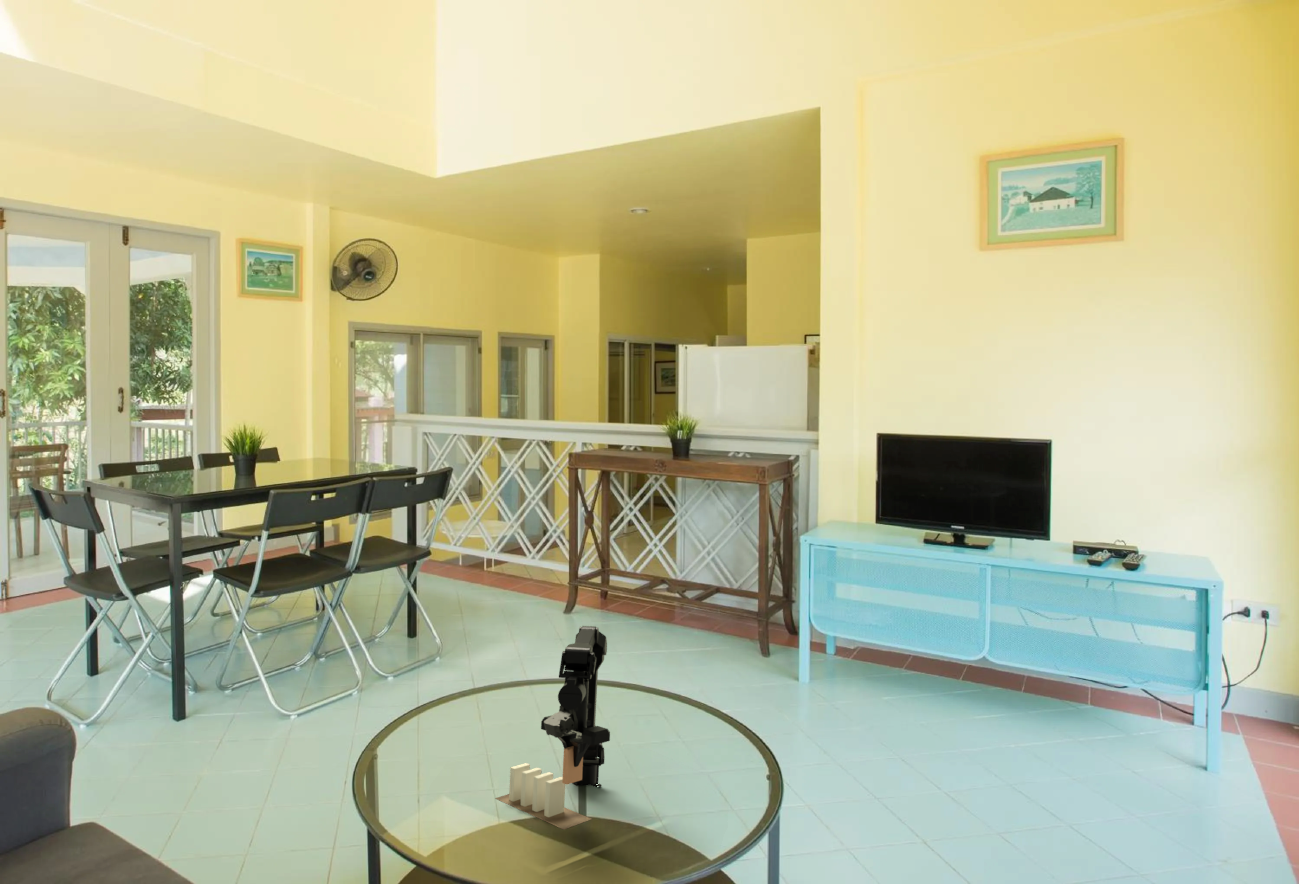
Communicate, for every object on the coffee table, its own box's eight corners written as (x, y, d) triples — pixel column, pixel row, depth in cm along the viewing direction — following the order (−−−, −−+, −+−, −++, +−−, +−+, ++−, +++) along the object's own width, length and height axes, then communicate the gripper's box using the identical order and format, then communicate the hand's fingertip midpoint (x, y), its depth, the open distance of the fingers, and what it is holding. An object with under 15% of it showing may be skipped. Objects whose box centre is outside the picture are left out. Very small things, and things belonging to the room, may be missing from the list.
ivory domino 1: (508, 799, 204) (510, 767, 204) (524, 794, 208) (525, 762, 208) (512, 801, 203) (514, 768, 203) (528, 796, 207) (529, 764, 207)
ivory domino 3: (532, 809, 198) (533, 776, 198) (547, 804, 202) (549, 771, 202) (536, 811, 197) (537, 778, 197) (551, 806, 200) (553, 773, 201)
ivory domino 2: (520, 804, 201) (522, 771, 201) (536, 799, 205) (537, 767, 205) (524, 806, 200) (526, 773, 200) (540, 801, 203) (541, 768, 204)
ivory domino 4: (544, 815, 195) (545, 781, 195) (559, 809, 199) (561, 776, 199) (548, 817, 194) (550, 783, 194) (564, 811, 198) (565, 778, 198)
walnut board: (494, 802, 204) (494, 798, 205) (522, 793, 211) (522, 789, 211) (563, 833, 187) (563, 829, 187) (591, 823, 194) (591, 818, 194)
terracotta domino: (562, 782, 193) (563, 748, 194) (577, 778, 197) (578, 744, 197) (566, 784, 192) (568, 749, 192) (582, 779, 196) (583, 745, 196)
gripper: (525, 697, 196) (522, 763, 195) (578, 712, 184) (575, 783, 182) (559, 690, 204) (556, 754, 203) (612, 704, 192) (610, 772, 191)
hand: (573, 765), depth 195 cm, fingers closed on terracotta domino, 2 cm apart
